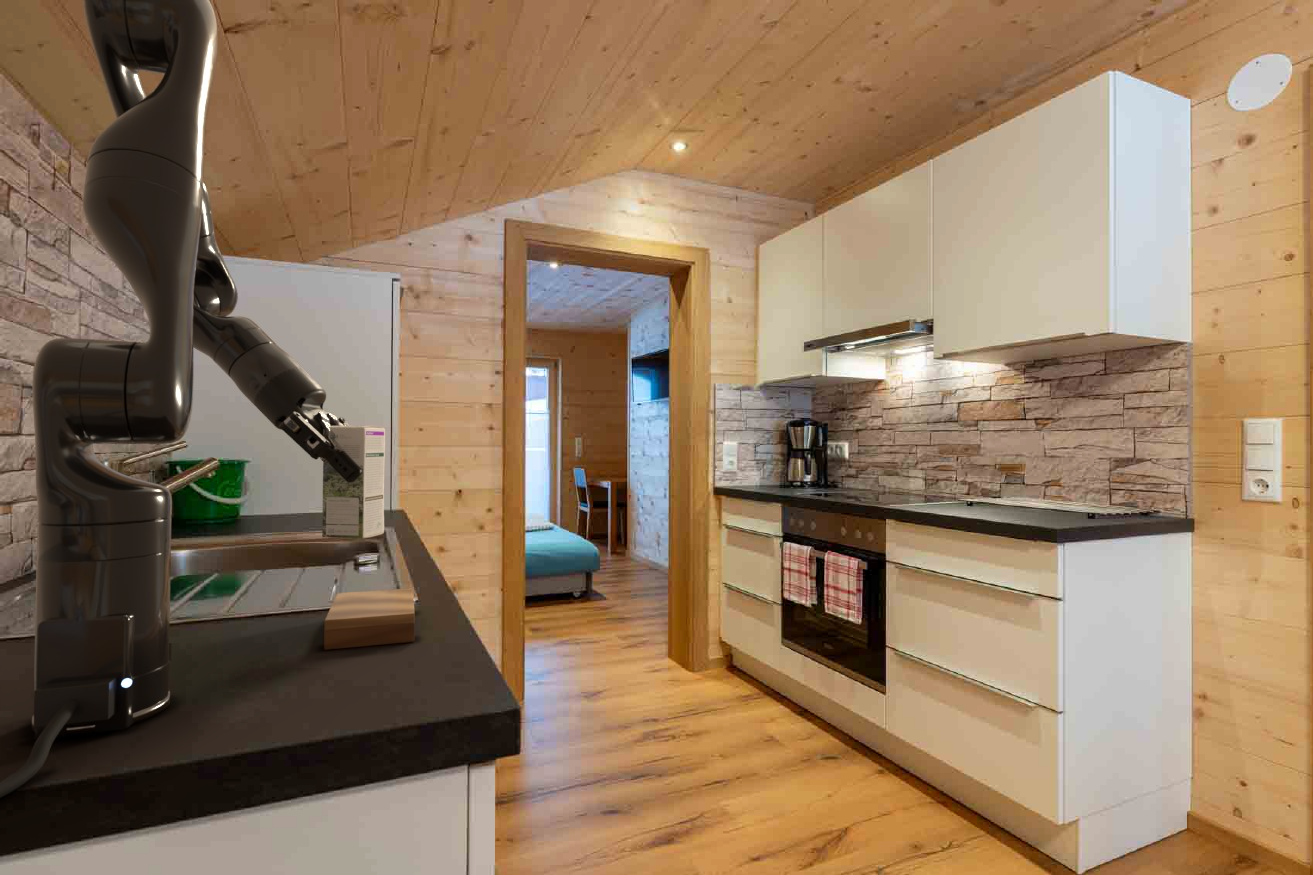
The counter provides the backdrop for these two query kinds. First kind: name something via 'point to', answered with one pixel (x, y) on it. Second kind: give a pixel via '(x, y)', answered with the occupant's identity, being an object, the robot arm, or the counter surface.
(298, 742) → the counter surface
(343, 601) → the shelf
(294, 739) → the counter surface
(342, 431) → the syrup box
